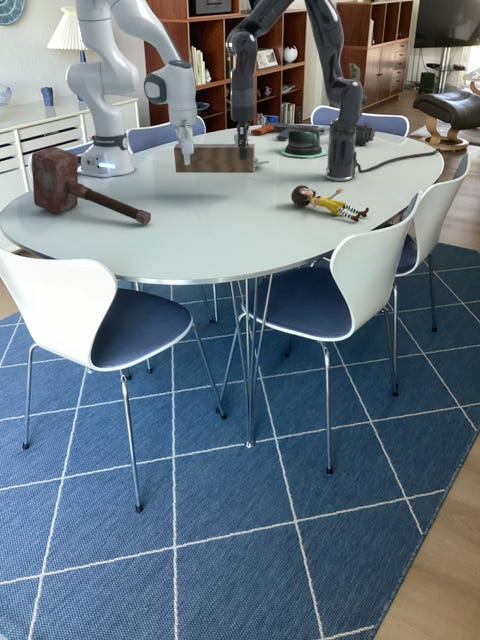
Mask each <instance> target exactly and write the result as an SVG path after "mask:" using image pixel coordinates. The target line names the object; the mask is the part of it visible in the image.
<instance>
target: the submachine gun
mask: <svg viewBox="0 0 480 640" xmlns="http://www.w3.org/2000/svg"><path fill="white" fill-rule="evenodd" d="M298 128H311V129H316V130H318V131H319V132H320V136H322V135H323V134H324V133H325V132H326V130H325V129H324V127H322V128H321V127H320V128H319V126H317V125H310V124H309V125H308V124H297V123H296V124H295V123H284V122H272V121H270V122H269V121H268V122H264V124H262V125H261V126H260V127H257V128H253V129H250V134H252V135H254V136H261V135H265V134H266V133H270V132H271V133H272V132H276V133H278V135H277V137H276V139H277V140H279V141H287V140H288V139H289V131H291V130H294V129H298Z"/></svg>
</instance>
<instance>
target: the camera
mask: <svg viewBox="0 0 480 640" xmlns="http://www.w3.org/2000/svg"><path fill="white" fill-rule="evenodd" d="M233 141H234V144H238V140H237V132H236V133H234V134H233ZM240 143H241V142H240ZM269 163H270V160H264V161H259V157H255V168H257V167H259V166H262V165H265V164H269Z"/></svg>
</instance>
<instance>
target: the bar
mask: <svg viewBox="0 0 480 640" xmlns="http://www.w3.org/2000/svg"><path fill="white" fill-rule="evenodd" d="M255 145H256V144H255V143H248V144H247V148H246V157H247V158H246V160H240V159H239V148H238V144H235V143H193V146H194V153H193V154H190V165H185V164H184V154H182V151H181V148H180V146H179V143H176V144H175V146H174V147H173V153H174V154H173V155H174V165H175V167H174V168H175V173H176V174H177V173H178V174H180V173H181V174H182V173H183V174H185V173H187V174H188V173H189V174H191V173H193V174H196V173H200V174H205V173H207V174H212V173H213V174H219V173H221V174H227V173H228V174H235V173H236V174H254V173H255V170H256V167H255V151H256V149H255V147H256V146H255Z"/></svg>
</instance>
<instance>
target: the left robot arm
mask: <svg viewBox="0 0 480 640" xmlns="http://www.w3.org/2000/svg"><path fill="white" fill-rule="evenodd" d="M75 13H76V18H77V25H78V31H79V37H80V42H81V44H82V45H83V46H84V48H86V49H87V50H89V51H91V52H93V53H95V54H96V55H98V56H99V58H100V59H101V61H82V62H78V63H74V64H70V65H69V66H68V67H67V70H66V72H65V81H66V84H67V87H68V88H69V90H70V91H71V92H72V93H73V94H75V95H76V96H77V97H79V98H80V99H81V100H82V101H83V103H85V105H86V106H87V108H88V109H89V111H90V114H91V118H92V122H93V126H94V133H95V134H93V135H92V136H90V137H89V141H92V145H91V146H90V147H88V148H87V149H86V150H85V151H84V152H83V153H79V154H77V155H76V156H77V158H78V164H79V165H80V166H78V175H85V176H90V177H97V178H111V177H116V176H124V175H128V174H130V173H133V172H134V171H135V168H134V165H133V164H132V160H131V156H130V152H129V142H128V135H127V132H126V126H125V119H124V118H125V117H124V112H123V111H122V110H121V108H120V107H118V106H116V105H114V104H113V103H110V102H108V101H107V100H106V99H105V97H104V96H106V95H107V96H108V95H125V94H128V93H132V92H135V91H136V90H137V89H138V87H139V84H140V79H141V78H140V73H139V70H138V68H137V66H136V65H135V64H134V63H133V62H131V61H130V60H128V59H127V58H126V57H125V56H124V55H123V53H122V52H121V51H120V49H119V48H118V46H117V42H116V39H115V36H114V30H113V25H112V24H113V23H112V17H113V19H114V21H115V23H116V25H117V26H118V28H119V29H120V31H122V32H123V33H124V34H126V35H128V36H130V37H132V38H137V39H138V40H142V41H144V42H146V43H148V44H150V45H152V46H153V47H154V48H155V49H156V50H157V52H158V54H159V56H160V58H161V60H162V62H163V63H164V66H163V67H162V68H160V69H157V70H155V71H153V72H150V73H148V74H147V75H146V76H145V78H144V80H143V91H144V95H145V97H146V99H147V100H148V101H149V102H150V103H151V104H154V105H165V104H167V106H168V119H169V125H171V126H173V130H175V136H176V140H177V144H179V146H180V148H181V151H182V154H184V164H185V165H190V154H193V153H194V146H193V144H194V136H193V135H194V134H193V130H194V129H195V125H197V124H198V121H199V120H198V106H197V102H196V94H197V79H196V76H195V72H194V67H193V65H192V64H191V63H189V61H186V60H184V58H183V56H182V55H181V53H180V51H179V49H178V47H177V45H176V44H175V42H174V40H173V37H172V36H171V34H170V32H169V31H168V29H167V27H166V26H165V24H164V22H162V20H161V19H159V18H158V17H157V15H155V13H154V12H153V11H152V9H151V7H150V6H149V4H148V2H147V0H75ZM111 14H112V15H111ZM111 16H112V17H111Z"/></svg>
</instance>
